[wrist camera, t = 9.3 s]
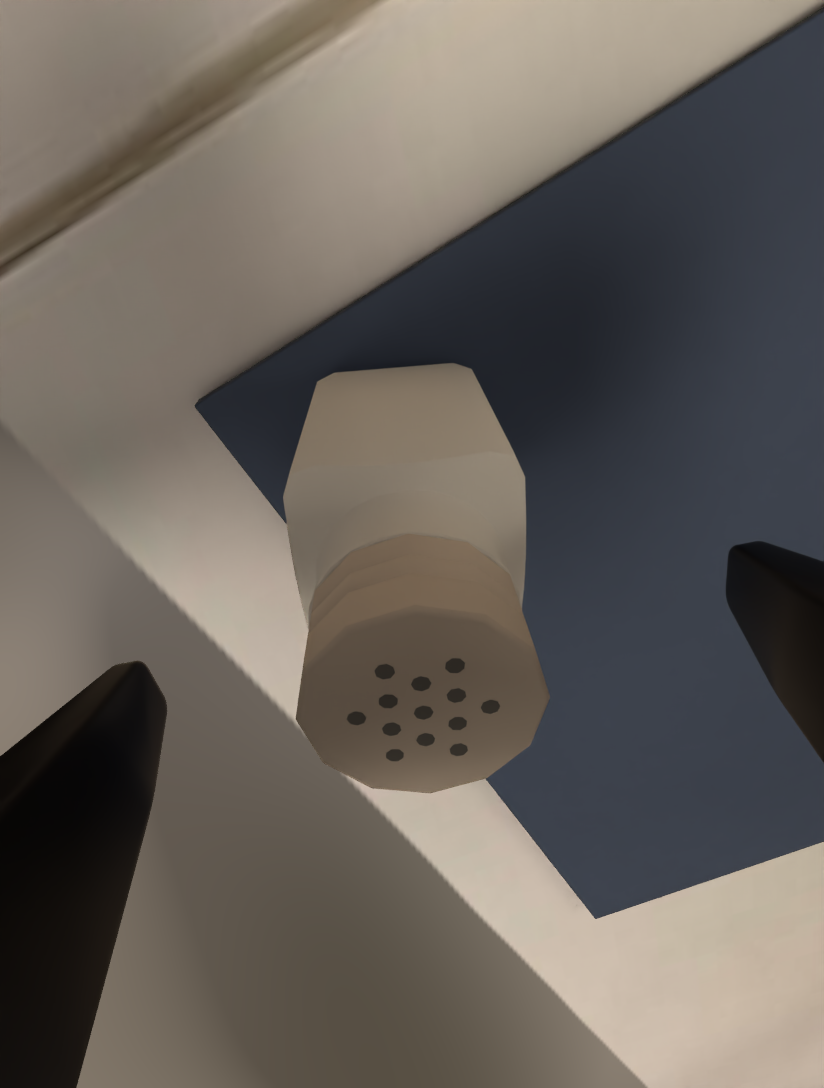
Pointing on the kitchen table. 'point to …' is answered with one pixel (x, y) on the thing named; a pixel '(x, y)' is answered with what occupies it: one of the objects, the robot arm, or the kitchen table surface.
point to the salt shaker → (412, 580)
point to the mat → (632, 461)
